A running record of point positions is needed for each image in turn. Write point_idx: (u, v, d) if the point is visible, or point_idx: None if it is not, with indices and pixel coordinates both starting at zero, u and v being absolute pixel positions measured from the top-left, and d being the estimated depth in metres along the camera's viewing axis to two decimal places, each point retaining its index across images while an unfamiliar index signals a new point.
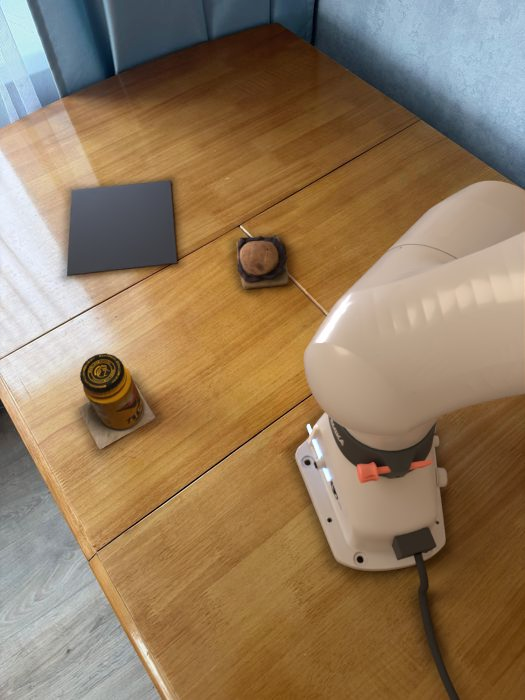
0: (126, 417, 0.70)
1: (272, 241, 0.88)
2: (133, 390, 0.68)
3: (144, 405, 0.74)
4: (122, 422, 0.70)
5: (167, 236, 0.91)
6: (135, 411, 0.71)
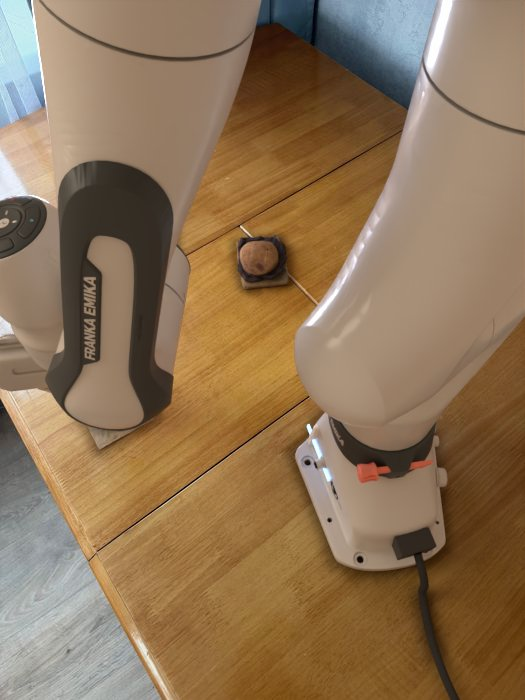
0: None
1: (272, 241, 0.88)
2: None
3: None
4: None
5: None
6: None
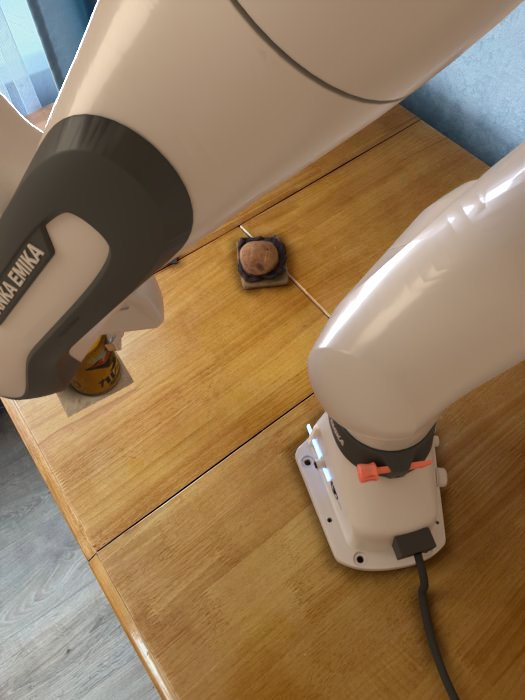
0: (98, 378, 0.60)
1: (272, 241, 0.88)
2: None
3: (121, 368, 0.65)
4: (93, 385, 0.60)
5: None
6: (109, 372, 0.61)
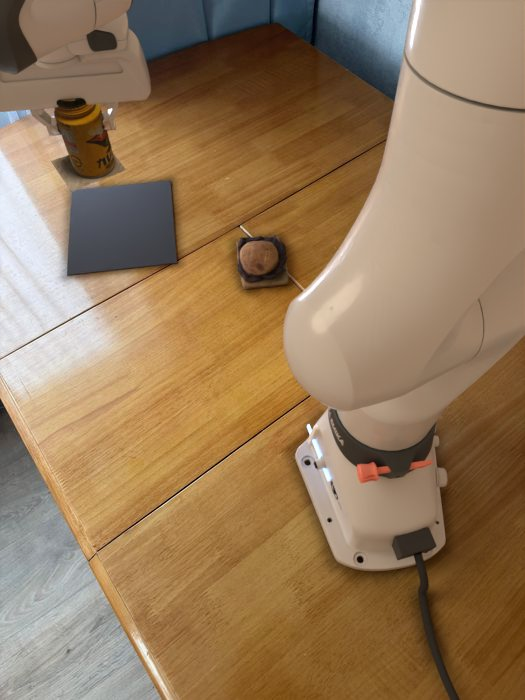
0: (96, 156, 0.73)
1: (272, 241, 0.88)
2: None
3: (115, 160, 0.78)
4: (92, 163, 0.73)
5: (167, 236, 0.91)
6: (105, 153, 0.74)
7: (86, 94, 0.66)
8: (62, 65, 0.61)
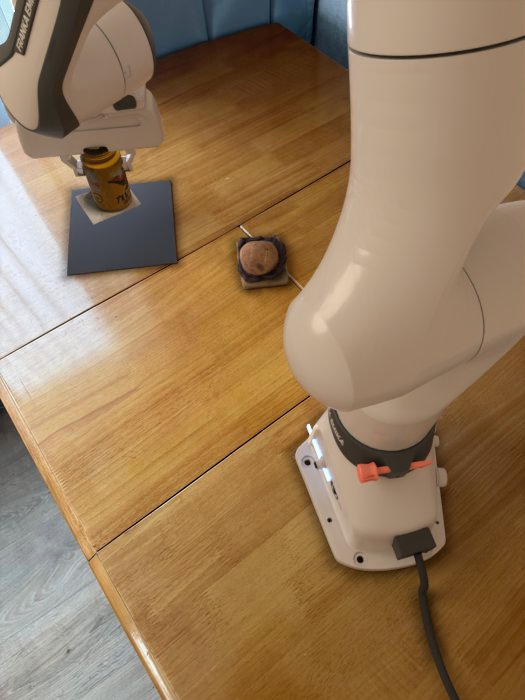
0: (116, 193, 0.83)
1: (272, 241, 0.88)
2: None
3: (132, 195, 0.88)
4: (112, 199, 0.84)
5: (167, 236, 0.91)
6: (123, 191, 0.84)
7: (109, 143, 0.76)
8: (89, 121, 0.71)
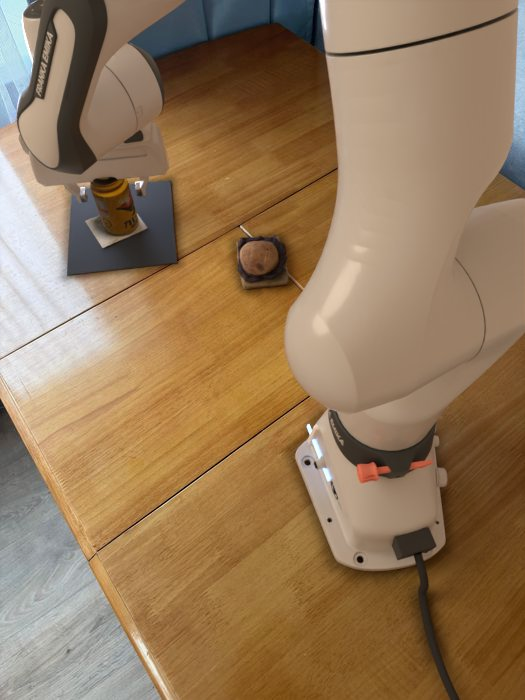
0: (124, 219, 0.88)
1: (272, 241, 0.88)
2: (129, 194, 0.86)
3: (138, 219, 0.93)
4: (120, 224, 0.88)
5: (167, 236, 0.91)
6: (131, 216, 0.89)
7: (117, 172, 0.81)
8: None
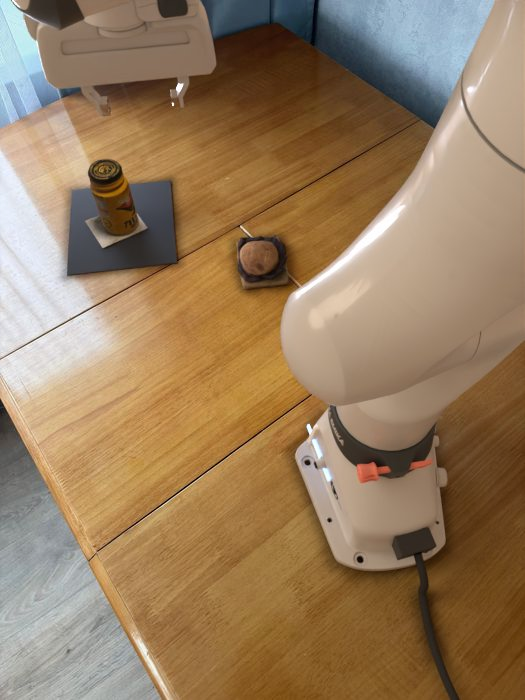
0: (124, 219, 0.88)
1: (272, 241, 0.88)
2: (129, 194, 0.86)
3: (138, 219, 0.93)
4: (120, 224, 0.88)
5: (167, 236, 0.91)
6: (131, 216, 0.89)
7: (149, 68, 0.62)
8: (128, 34, 0.58)
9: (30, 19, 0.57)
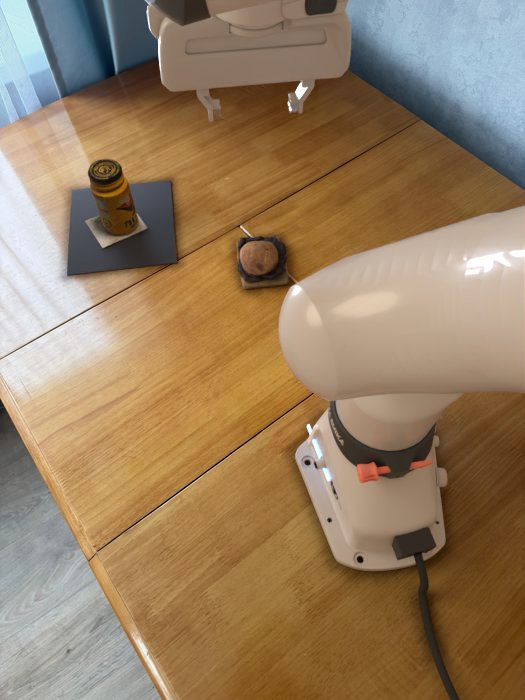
0: (124, 219, 0.88)
1: (272, 241, 0.88)
2: (129, 194, 0.86)
3: (138, 219, 0.93)
4: (120, 224, 0.88)
5: (167, 236, 0.91)
6: (131, 216, 0.89)
7: (277, 70, 0.56)
8: (265, 32, 0.51)
9: (155, 14, 0.51)
